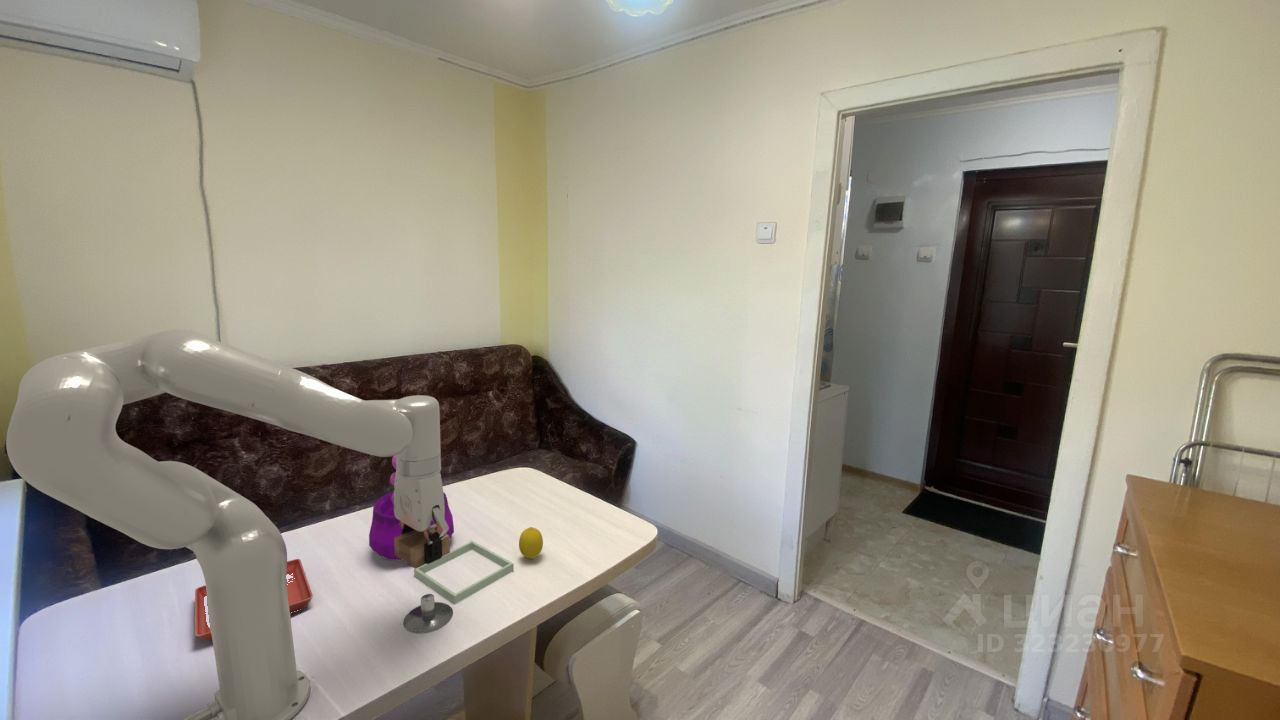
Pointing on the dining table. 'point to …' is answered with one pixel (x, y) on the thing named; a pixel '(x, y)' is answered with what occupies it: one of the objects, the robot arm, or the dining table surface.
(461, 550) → the green rectangular frame
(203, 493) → the robot arm
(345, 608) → the dining table surface
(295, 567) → the plant saucer
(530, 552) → the lemon
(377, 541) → the decorative plant
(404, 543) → the wooden square frame
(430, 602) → the peg on round base
